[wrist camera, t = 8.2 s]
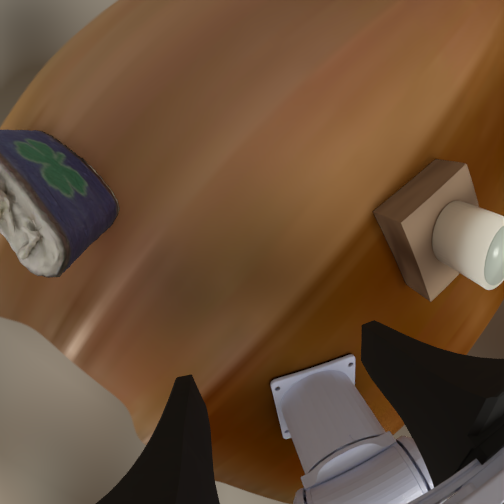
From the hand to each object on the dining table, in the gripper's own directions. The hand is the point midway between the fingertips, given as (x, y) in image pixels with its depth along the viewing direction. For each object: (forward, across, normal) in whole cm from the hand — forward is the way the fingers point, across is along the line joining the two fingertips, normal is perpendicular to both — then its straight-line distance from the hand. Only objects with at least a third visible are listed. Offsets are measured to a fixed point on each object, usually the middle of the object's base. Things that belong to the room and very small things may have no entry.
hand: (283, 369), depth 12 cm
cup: (+7, -16, 0) cm, 17 cm away
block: (+11, -16, 0) cm, 19 cm away
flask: (+11, +10, -10) cm, 18 cm away
